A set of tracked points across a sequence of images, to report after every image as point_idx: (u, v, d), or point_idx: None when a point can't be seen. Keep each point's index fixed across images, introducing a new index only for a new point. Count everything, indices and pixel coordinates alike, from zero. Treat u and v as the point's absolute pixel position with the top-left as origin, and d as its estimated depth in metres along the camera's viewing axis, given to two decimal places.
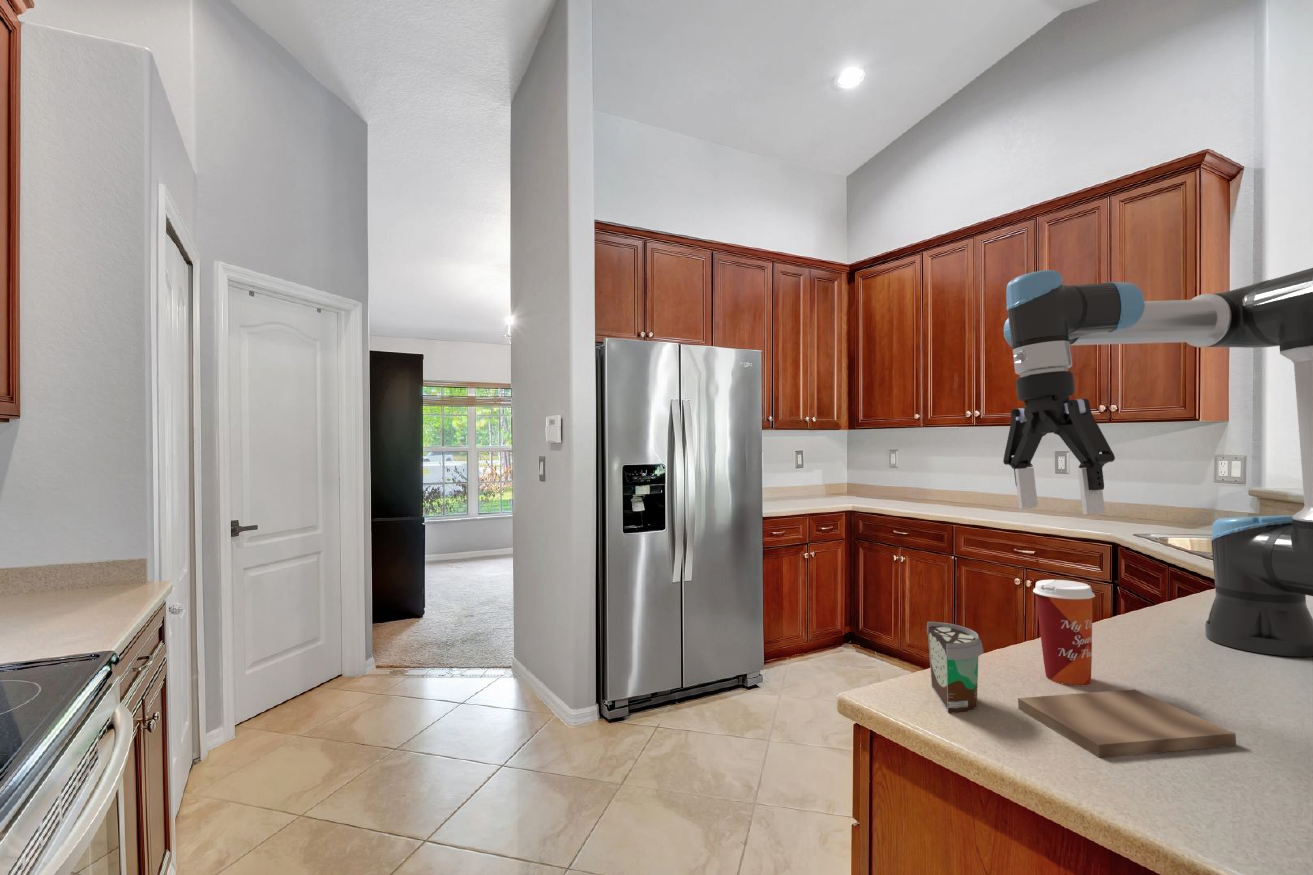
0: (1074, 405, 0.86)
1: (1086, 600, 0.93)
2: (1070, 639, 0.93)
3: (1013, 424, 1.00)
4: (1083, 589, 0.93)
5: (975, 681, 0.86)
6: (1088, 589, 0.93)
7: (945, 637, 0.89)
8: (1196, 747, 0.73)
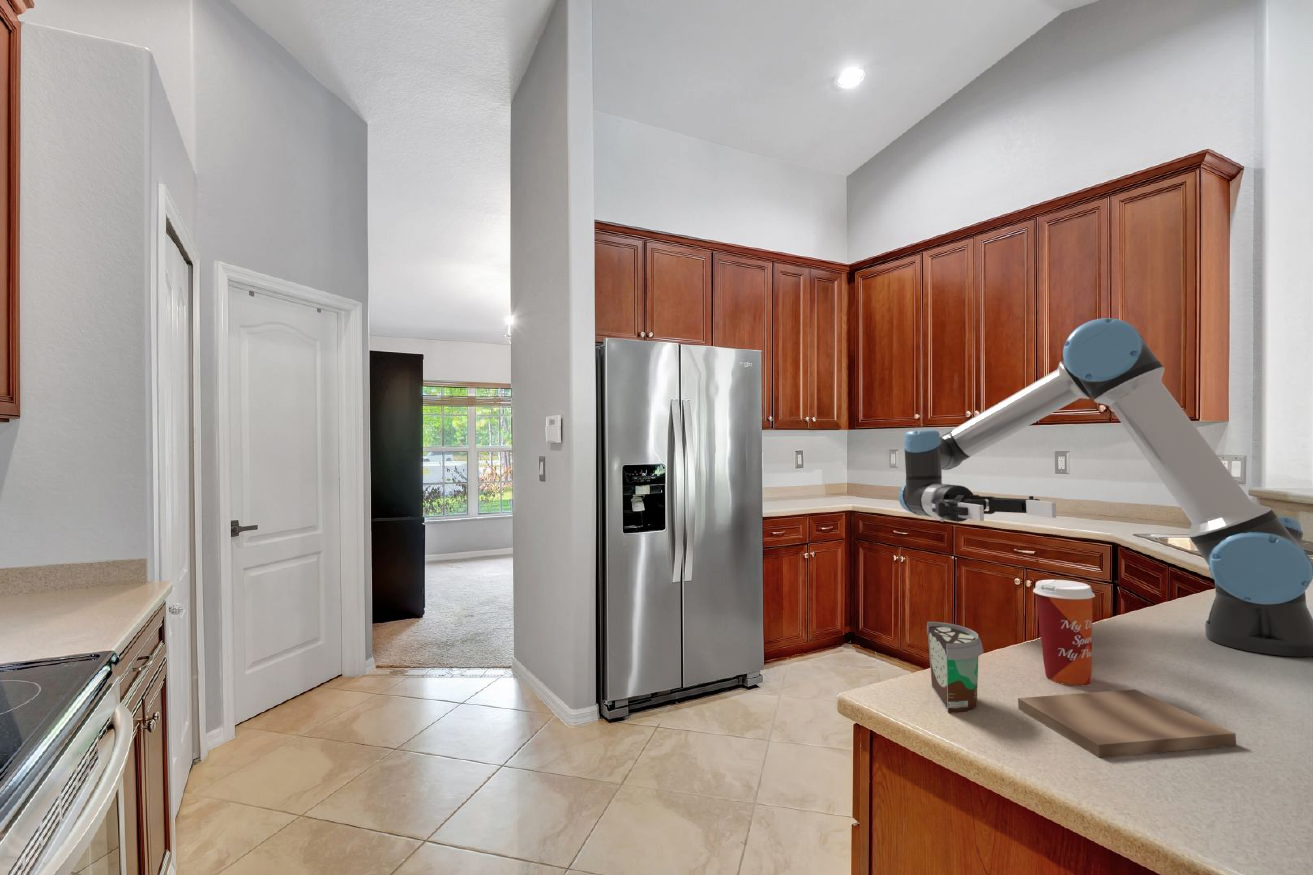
0: (933, 511, 1.21)
1: (1086, 600, 0.93)
2: (1070, 639, 0.93)
3: None
4: (1083, 589, 0.93)
5: (975, 681, 0.86)
6: (1088, 589, 0.93)
7: (945, 637, 0.89)
8: (1196, 747, 0.73)
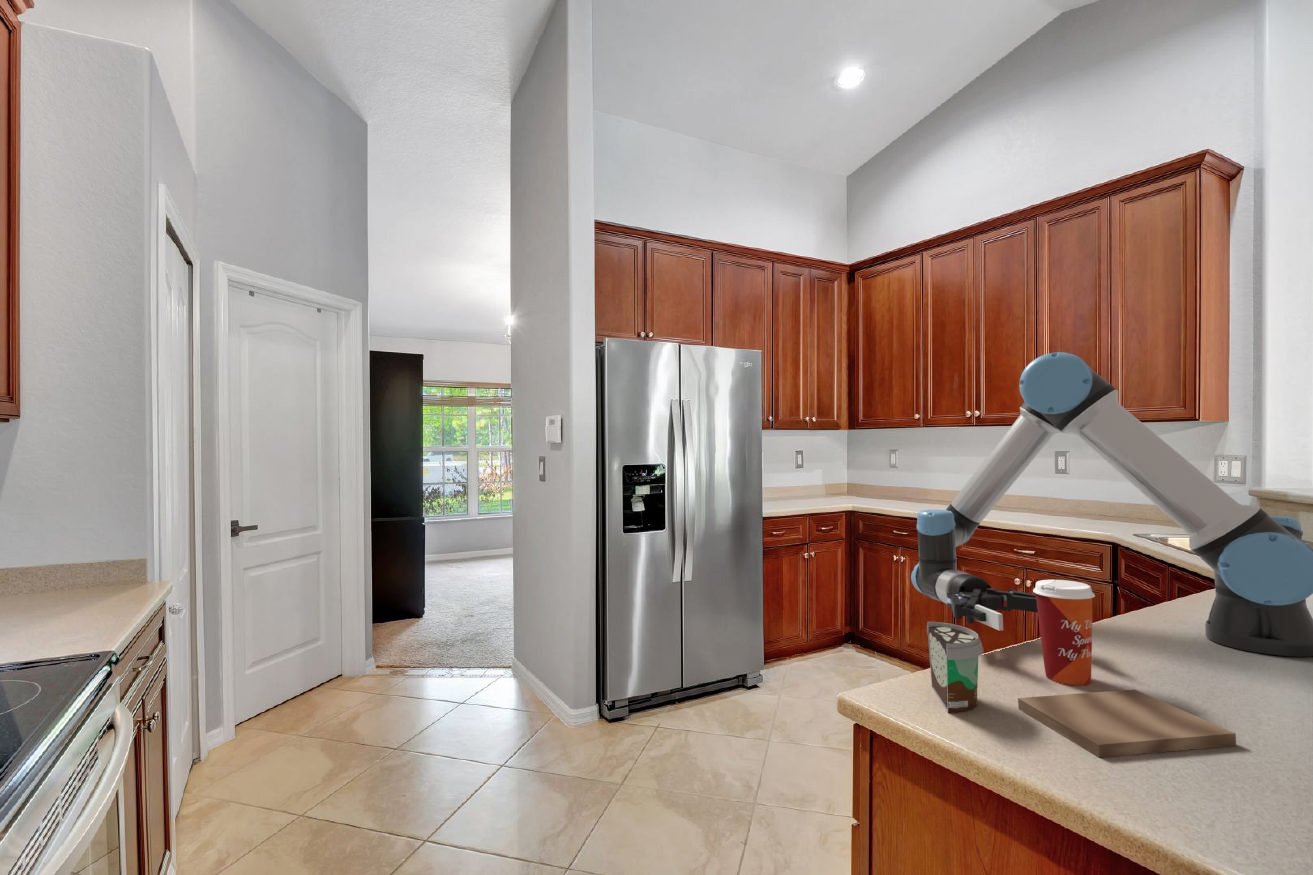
0: (948, 605, 1.16)
1: (1086, 600, 0.93)
2: (1070, 639, 0.93)
3: None
4: (1083, 589, 0.93)
5: (975, 681, 0.86)
6: (1088, 589, 0.93)
7: (945, 637, 0.89)
8: (1196, 747, 0.73)
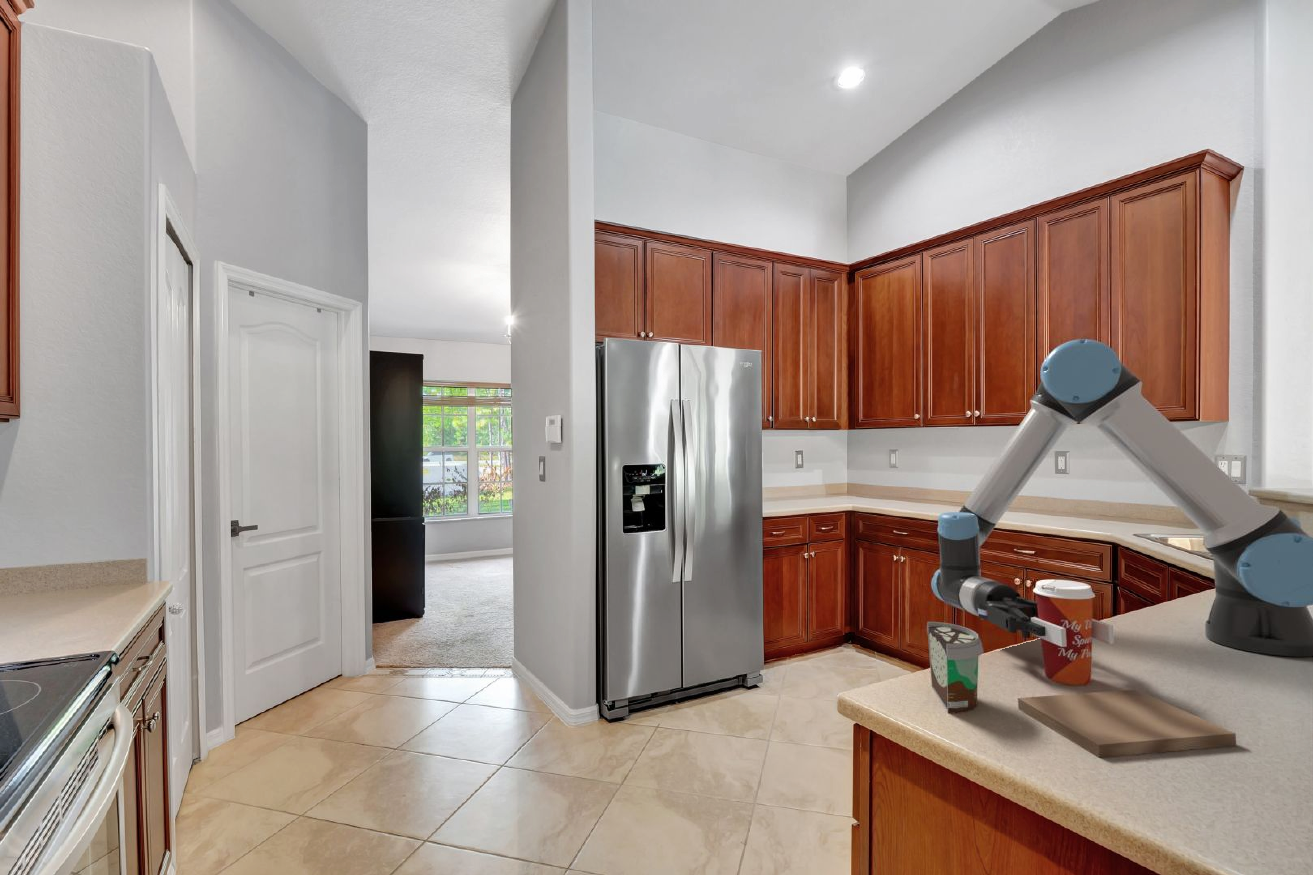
0: (981, 617, 1.07)
1: (1086, 600, 0.93)
2: (1070, 639, 0.93)
3: None
4: (1083, 589, 0.93)
5: (975, 681, 0.86)
6: (1088, 589, 0.93)
7: (945, 637, 0.89)
8: (1196, 747, 0.73)
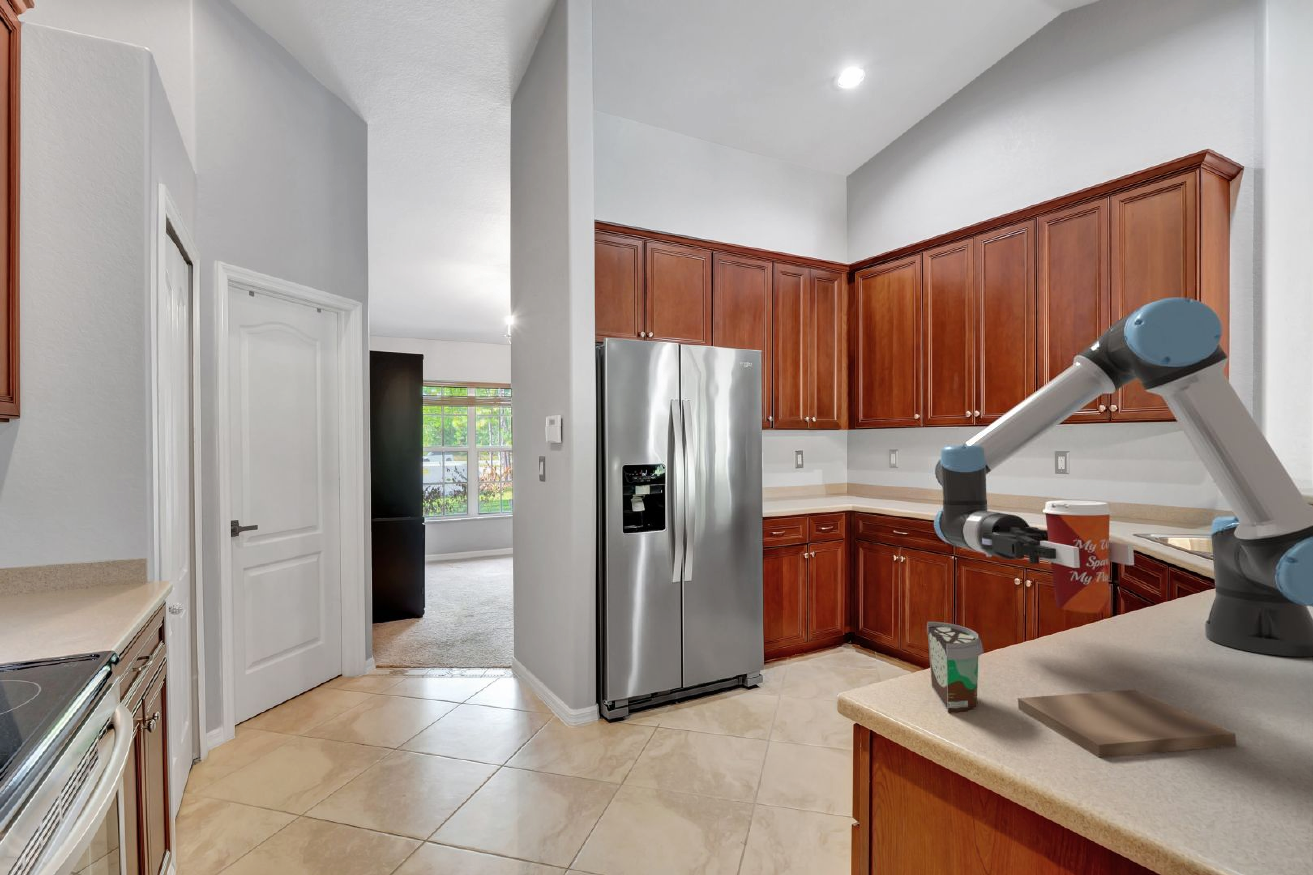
0: (985, 548, 0.97)
1: (1102, 517, 0.83)
2: (1084, 561, 0.83)
3: None
4: (1099, 505, 0.83)
5: (975, 681, 0.86)
6: (1105, 505, 0.83)
7: (945, 637, 0.89)
8: (1196, 747, 0.73)
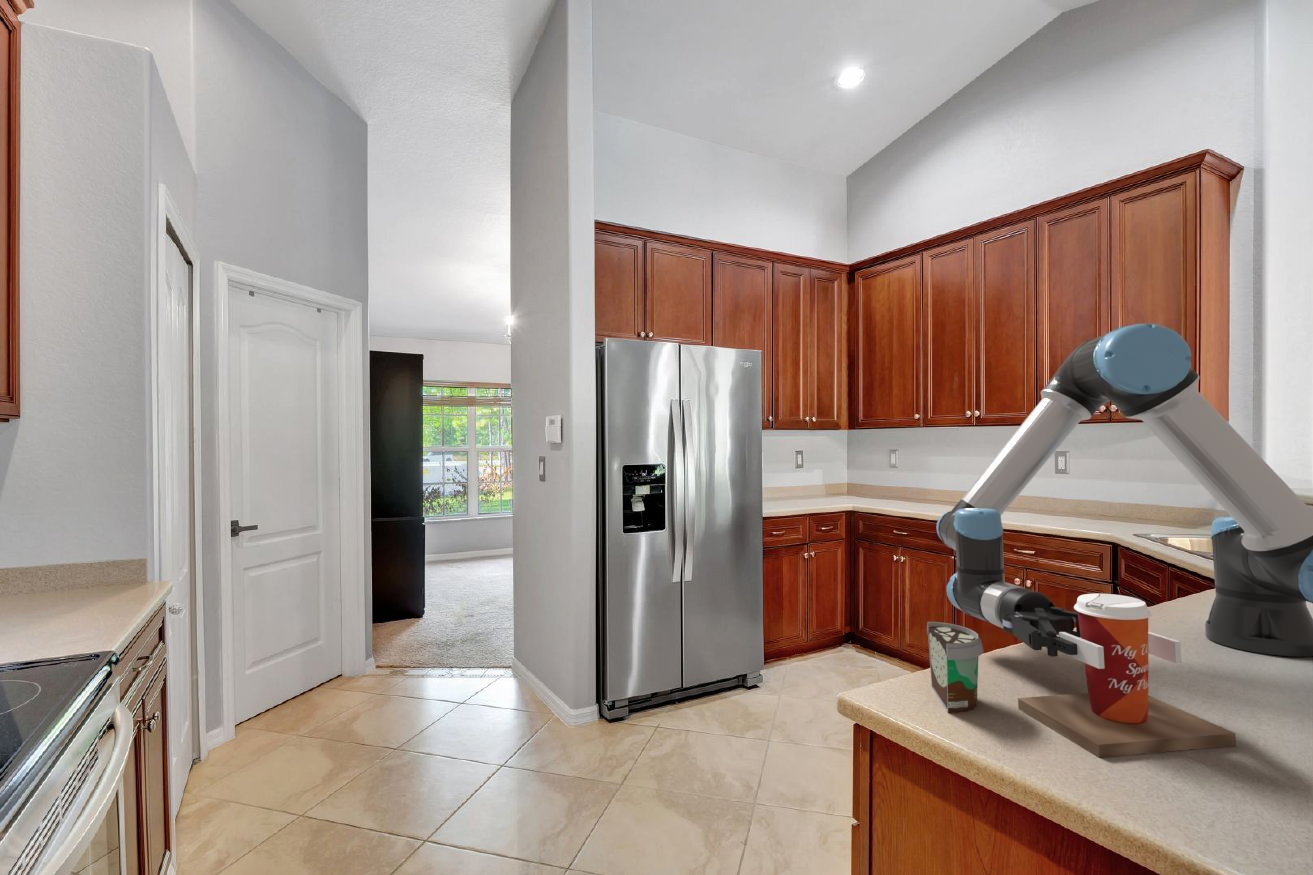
0: (1006, 630, 0.91)
1: (1142, 620, 0.76)
2: (1124, 668, 0.77)
3: None
4: (1138, 607, 0.77)
5: (975, 681, 0.86)
6: (1144, 606, 0.77)
7: (945, 637, 0.89)
8: (1196, 747, 0.73)
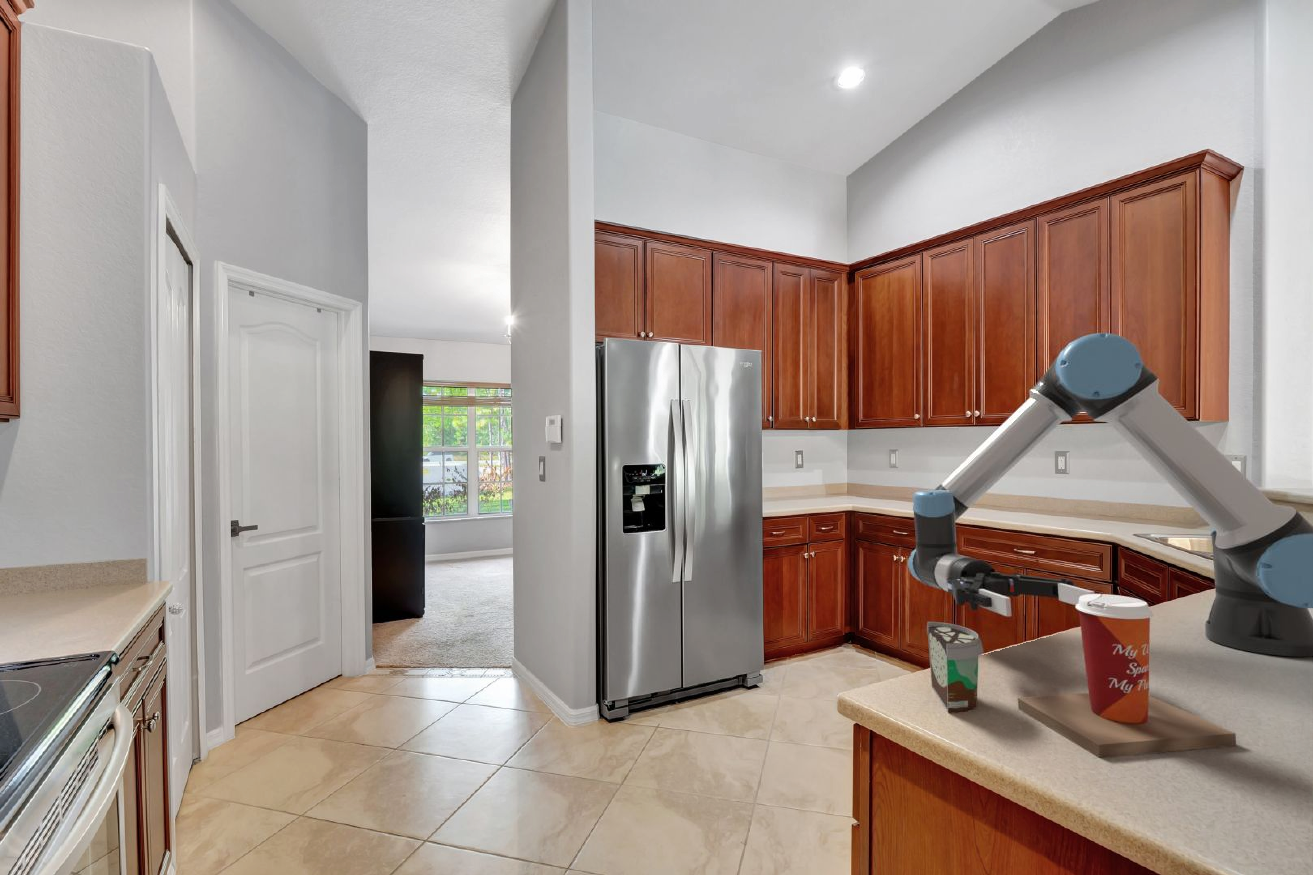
0: (949, 592, 1.06)
1: (1143, 620, 0.77)
2: (1124, 667, 0.77)
3: None
4: (1140, 607, 0.77)
5: (975, 681, 0.86)
6: (1145, 606, 0.77)
7: (945, 637, 0.89)
8: (1196, 747, 0.73)
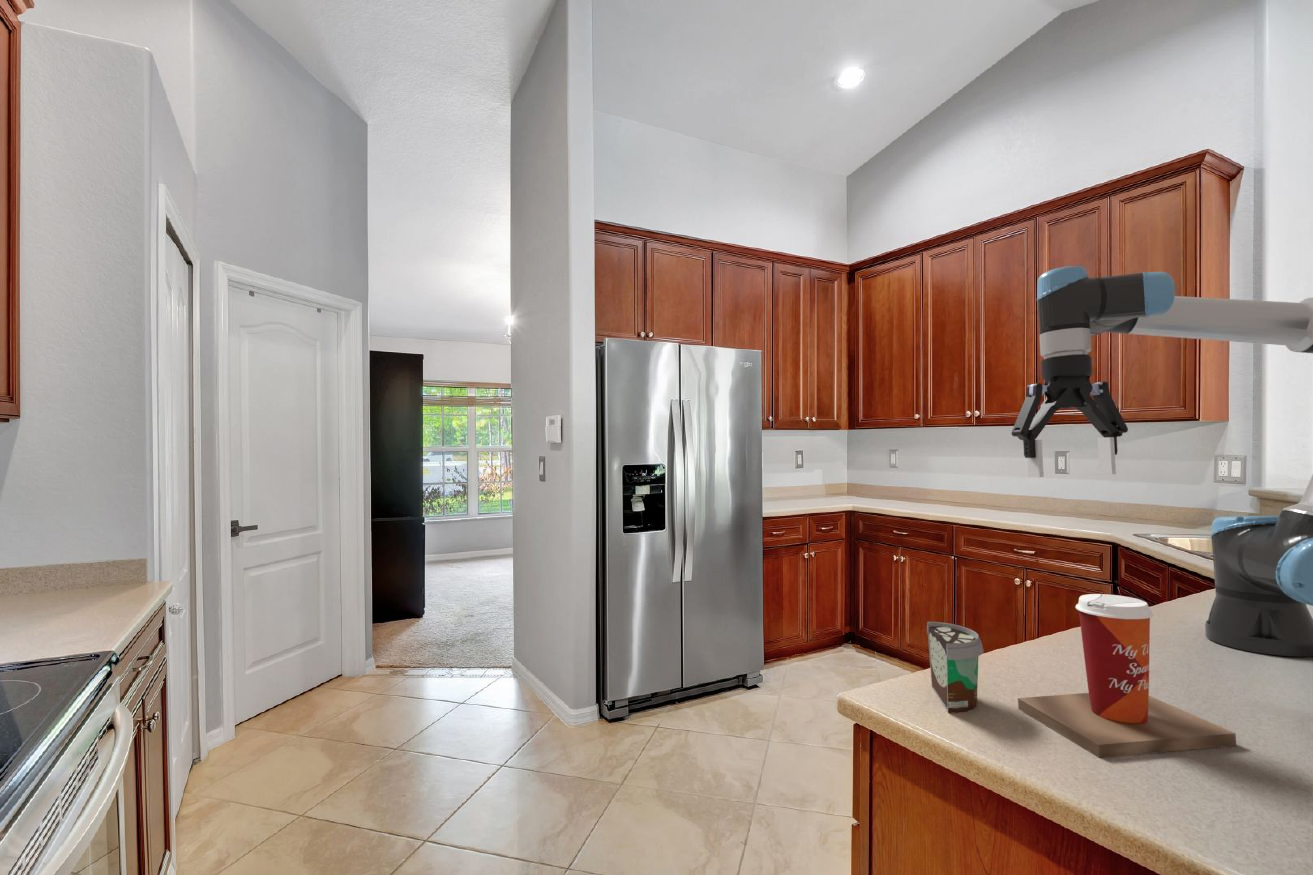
0: (1027, 389, 1.08)
1: (1143, 620, 0.77)
2: (1124, 668, 0.77)
3: None
4: (1140, 607, 0.77)
5: (975, 681, 0.86)
6: (1145, 607, 0.77)
7: (945, 637, 0.89)
8: (1196, 747, 0.73)
